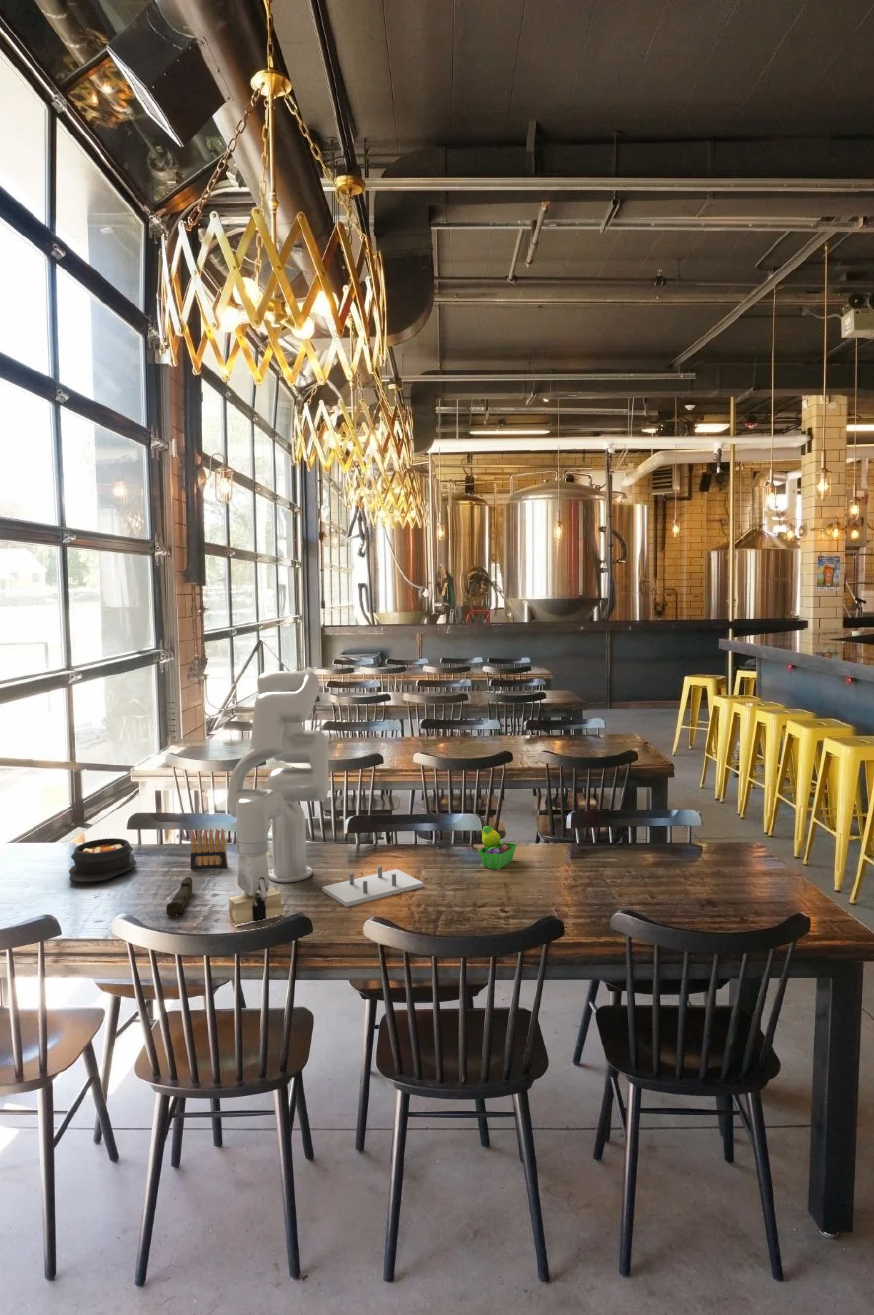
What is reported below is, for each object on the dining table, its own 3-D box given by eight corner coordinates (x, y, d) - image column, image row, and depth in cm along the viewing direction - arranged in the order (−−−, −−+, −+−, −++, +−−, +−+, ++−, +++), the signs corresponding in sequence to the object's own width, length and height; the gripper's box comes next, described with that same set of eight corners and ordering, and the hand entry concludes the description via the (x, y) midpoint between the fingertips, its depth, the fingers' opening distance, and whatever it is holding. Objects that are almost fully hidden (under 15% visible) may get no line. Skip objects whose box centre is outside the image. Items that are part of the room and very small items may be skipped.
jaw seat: (322, 891, 223) (321, 876, 223) (397, 872, 237) (396, 858, 236) (346, 906, 212) (345, 891, 211) (423, 886, 225) (422, 872, 225)
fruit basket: (500, 872, 236) (499, 834, 235) (473, 867, 241) (473, 829, 240) (517, 860, 246) (517, 824, 245) (492, 856, 250) (491, 820, 250)
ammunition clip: (227, 866, 245) (226, 827, 245) (226, 868, 244) (225, 829, 243) (191, 867, 245) (190, 828, 244) (190, 869, 243) (188, 830, 242)
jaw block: (229, 921, 204) (228, 898, 203) (274, 910, 211) (273, 887, 210) (236, 927, 200) (235, 903, 200) (281, 915, 207) (280, 892, 206)
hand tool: (182, 917, 208) (181, 899, 207) (166, 918, 207) (165, 900, 207) (200, 890, 226) (200, 874, 226) (186, 891, 226) (185, 874, 226)
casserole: (119, 887, 229) (118, 858, 229) (53, 889, 229) (51, 860, 228) (148, 858, 254) (147, 832, 254) (88, 860, 254) (87, 833, 253)
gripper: (226, 840, 209) (229, 909, 210) (251, 857, 195) (253, 931, 196) (254, 835, 213) (257, 903, 214) (280, 851, 199) (282, 924, 200)
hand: (255, 916), depth 205 cm, fingers closed on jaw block, 4 cm apart
